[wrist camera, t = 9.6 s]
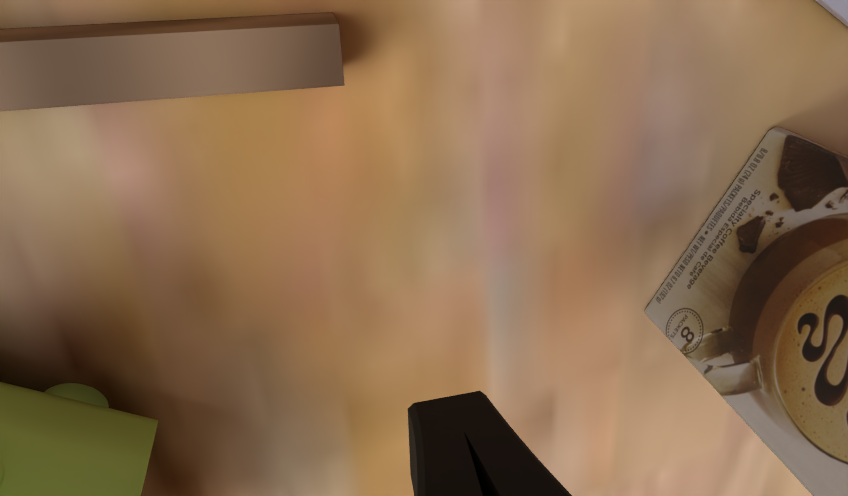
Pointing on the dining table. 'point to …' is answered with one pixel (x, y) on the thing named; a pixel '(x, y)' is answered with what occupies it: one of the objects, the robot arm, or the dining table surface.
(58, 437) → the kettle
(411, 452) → the robot arm
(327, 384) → the dining table surface
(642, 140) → the dining table surface
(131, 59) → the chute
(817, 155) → the coffee box
